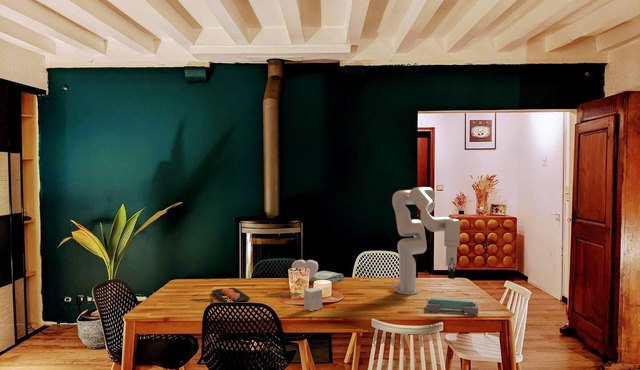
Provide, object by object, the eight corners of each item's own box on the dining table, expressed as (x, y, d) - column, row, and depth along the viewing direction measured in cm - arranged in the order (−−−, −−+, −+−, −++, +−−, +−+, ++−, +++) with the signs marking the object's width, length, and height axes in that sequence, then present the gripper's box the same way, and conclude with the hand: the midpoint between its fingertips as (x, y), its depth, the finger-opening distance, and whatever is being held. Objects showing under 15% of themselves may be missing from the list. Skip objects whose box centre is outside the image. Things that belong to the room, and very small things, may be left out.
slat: (430, 307, 235) (430, 299, 235) (430, 306, 238) (430, 297, 238) (473, 310, 230) (473, 302, 230) (472, 309, 233) (473, 300, 233)
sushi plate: (252, 301, 253) (251, 295, 253) (198, 311, 238) (197, 303, 238) (233, 290, 278) (233, 283, 278) (184, 297, 263) (183, 291, 263)
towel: (301, 281, 299) (301, 273, 299) (326, 276, 312) (326, 268, 312) (319, 286, 285) (319, 278, 284) (344, 281, 298) (344, 273, 298)
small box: (316, 306, 242) (315, 287, 242) (322, 309, 238) (322, 289, 237) (303, 309, 237) (303, 289, 237) (310, 312, 233) (310, 292, 232)
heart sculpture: (291, 290, 274) (291, 261, 273) (293, 288, 279) (293, 259, 278) (317, 291, 272) (316, 261, 271) (318, 289, 276) (318, 259, 276)
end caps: (426, 311, 233) (426, 304, 233) (426, 306, 242) (426, 299, 242) (478, 315, 226) (478, 308, 226) (476, 309, 235) (476, 302, 235)
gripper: (444, 239, 242) (443, 271, 243) (444, 245, 225) (443, 280, 226) (458, 240, 240) (458, 272, 241) (460, 246, 223) (459, 281, 224)
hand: (451, 276), depth 234 cm, fingers open, 9 cm apart
